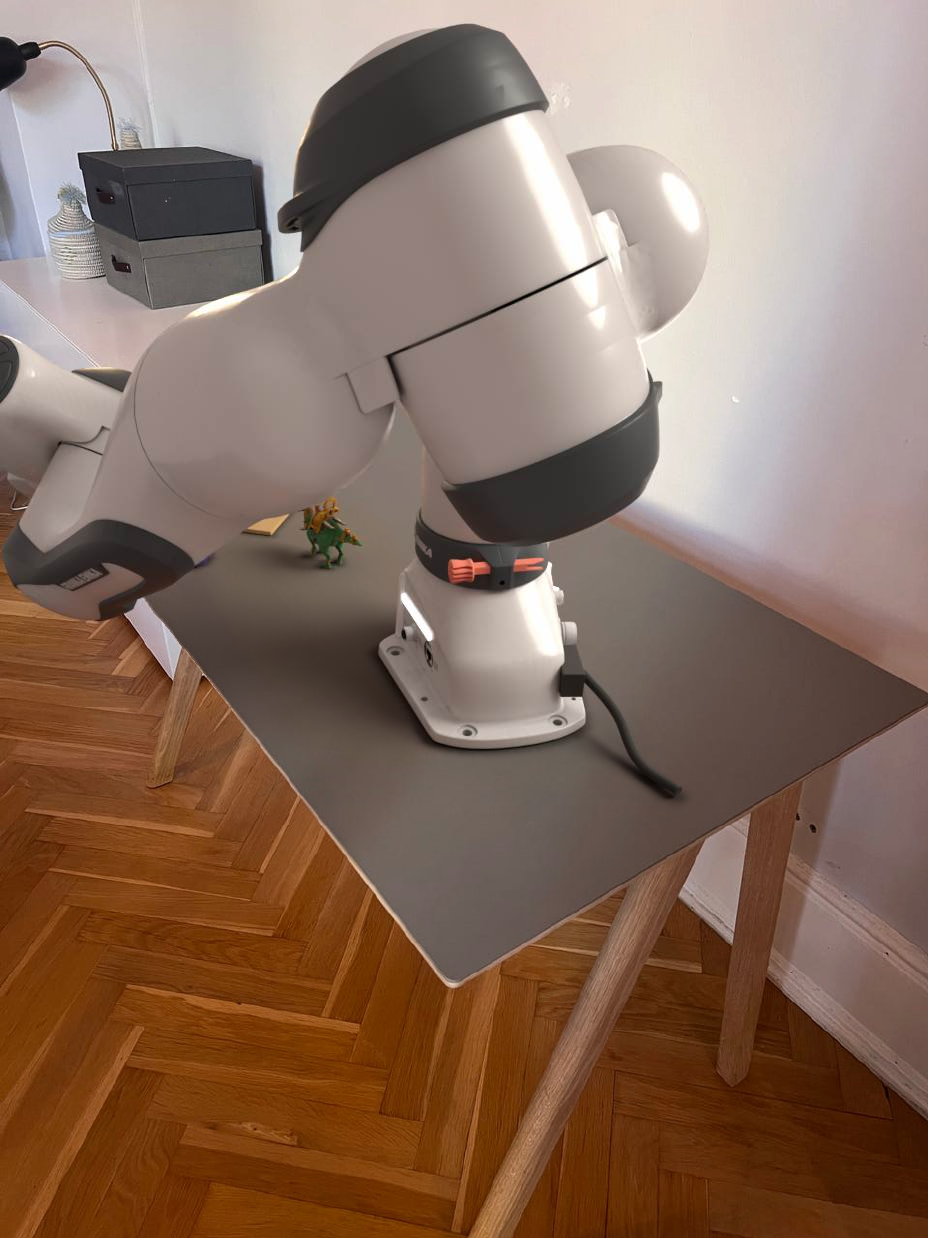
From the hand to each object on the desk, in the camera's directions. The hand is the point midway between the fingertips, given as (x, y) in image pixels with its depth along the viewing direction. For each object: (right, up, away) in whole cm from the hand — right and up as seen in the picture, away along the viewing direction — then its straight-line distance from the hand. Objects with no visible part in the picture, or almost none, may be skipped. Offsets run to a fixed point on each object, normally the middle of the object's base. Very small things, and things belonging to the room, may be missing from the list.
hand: (158, 517), depth 93 cm
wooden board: (+6, +8, +28) cm, 30 cm away
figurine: (+16, -4, +10) cm, 19 cm away
